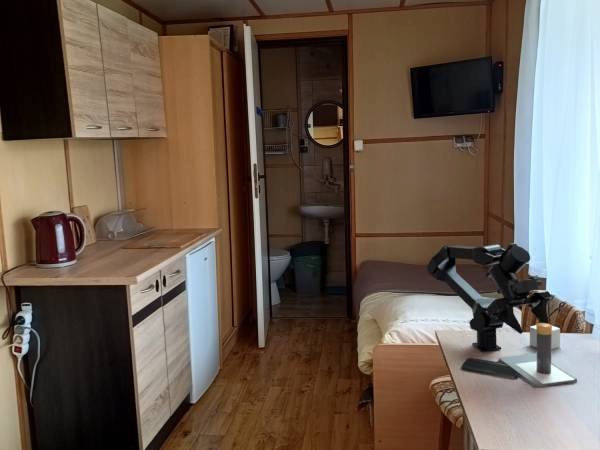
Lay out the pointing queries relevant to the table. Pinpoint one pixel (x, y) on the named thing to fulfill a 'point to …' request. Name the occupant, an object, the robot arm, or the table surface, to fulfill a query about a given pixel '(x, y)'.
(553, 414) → the table surface
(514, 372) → the phone
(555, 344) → the white cube
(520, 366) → the writing board
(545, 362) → the grey cylinder
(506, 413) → the table surface
